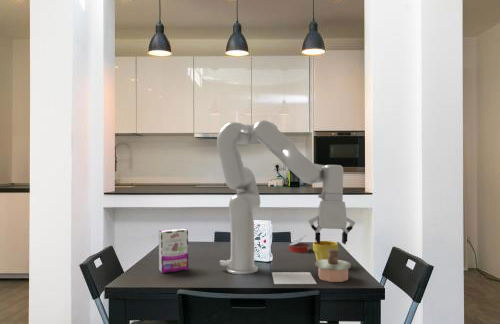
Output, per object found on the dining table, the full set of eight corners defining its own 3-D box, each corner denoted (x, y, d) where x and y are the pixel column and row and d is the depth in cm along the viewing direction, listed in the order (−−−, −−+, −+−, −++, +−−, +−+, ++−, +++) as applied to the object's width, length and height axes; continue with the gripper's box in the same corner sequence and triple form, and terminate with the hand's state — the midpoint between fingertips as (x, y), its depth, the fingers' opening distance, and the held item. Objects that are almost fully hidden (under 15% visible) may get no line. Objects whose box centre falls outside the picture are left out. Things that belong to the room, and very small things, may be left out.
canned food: (301, 262, 190) (296, 246, 187) (287, 256, 198) (281, 240, 195) (316, 249, 196) (311, 233, 193) (301, 244, 204) (296, 228, 201)
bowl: (322, 283, 140) (322, 269, 140) (316, 275, 151) (316, 262, 151) (350, 282, 141) (350, 269, 141) (343, 275, 151) (343, 262, 151)
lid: (318, 270, 139) (318, 253, 139) (312, 261, 152) (312, 246, 152) (355, 270, 139) (354, 253, 139) (345, 261, 152) (345, 246, 152)
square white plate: (274, 285, 138) (274, 283, 138) (271, 273, 153) (271, 272, 153) (316, 285, 138) (316, 283, 138) (309, 273, 153) (309, 272, 153)
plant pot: (319, 270, 158) (319, 245, 158) (309, 264, 168) (308, 241, 168) (342, 268, 161) (342, 244, 161) (330, 262, 171) (330, 240, 171)
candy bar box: (184, 267, 163) (185, 228, 163) (188, 270, 158) (188, 229, 159) (158, 270, 158) (158, 230, 158) (161, 273, 153) (161, 231, 153)
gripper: (311, 197, 142) (309, 244, 142) (358, 199, 142) (356, 246, 142) (307, 196, 150) (306, 240, 150) (352, 197, 150) (351, 241, 150)
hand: (331, 243), depth 146 cm, fingers open, 9 cm apart
